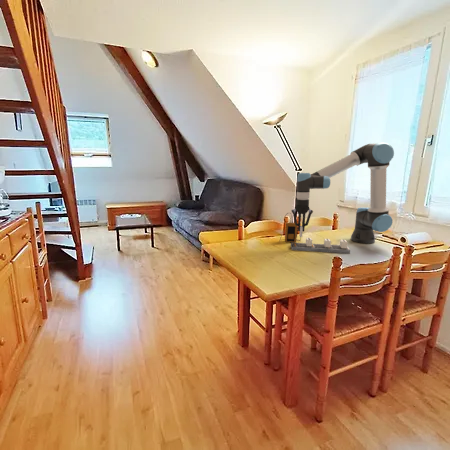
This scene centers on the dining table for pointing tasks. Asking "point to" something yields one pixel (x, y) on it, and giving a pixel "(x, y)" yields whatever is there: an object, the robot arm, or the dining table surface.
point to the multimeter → (290, 231)
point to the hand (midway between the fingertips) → (300, 236)
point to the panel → (319, 248)
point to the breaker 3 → (343, 244)
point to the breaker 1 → (308, 242)
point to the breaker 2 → (327, 243)
